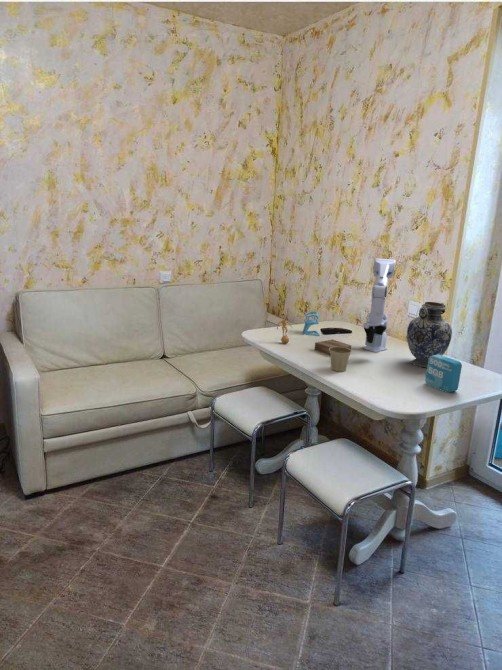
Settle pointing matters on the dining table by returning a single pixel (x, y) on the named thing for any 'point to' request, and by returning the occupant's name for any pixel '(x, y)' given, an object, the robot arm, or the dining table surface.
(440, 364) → the data package
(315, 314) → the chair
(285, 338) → the figurine
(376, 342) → the slate cube
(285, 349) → the dining table surface
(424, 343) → the decorative vase
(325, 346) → the walnut base block
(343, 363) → the flower pot
